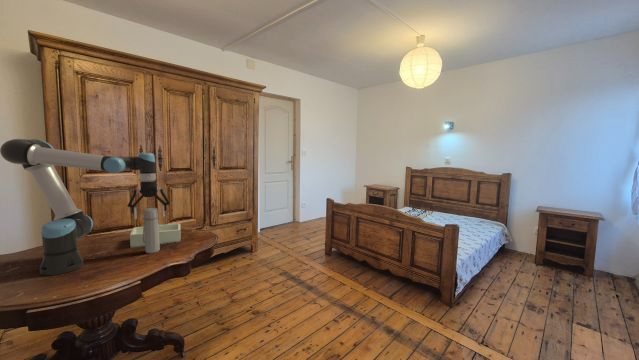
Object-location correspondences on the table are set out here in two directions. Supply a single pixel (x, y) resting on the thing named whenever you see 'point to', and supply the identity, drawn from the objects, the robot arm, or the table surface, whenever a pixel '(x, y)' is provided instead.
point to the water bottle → (151, 230)
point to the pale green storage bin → (166, 235)
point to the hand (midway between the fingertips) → (150, 217)
